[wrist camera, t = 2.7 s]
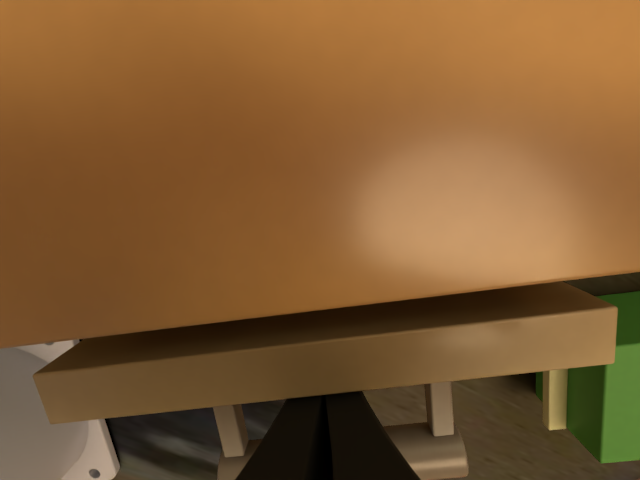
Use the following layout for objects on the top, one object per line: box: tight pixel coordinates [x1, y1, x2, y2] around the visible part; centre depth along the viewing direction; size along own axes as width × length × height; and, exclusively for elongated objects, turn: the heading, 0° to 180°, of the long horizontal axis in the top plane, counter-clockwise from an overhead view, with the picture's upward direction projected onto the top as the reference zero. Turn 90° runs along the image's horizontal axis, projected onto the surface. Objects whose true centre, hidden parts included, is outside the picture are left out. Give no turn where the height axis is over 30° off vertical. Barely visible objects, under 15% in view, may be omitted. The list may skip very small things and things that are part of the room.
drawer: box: [33, 281, 618, 480], centre depth 8 cm, size 18×11×6 cm, turn 8°
